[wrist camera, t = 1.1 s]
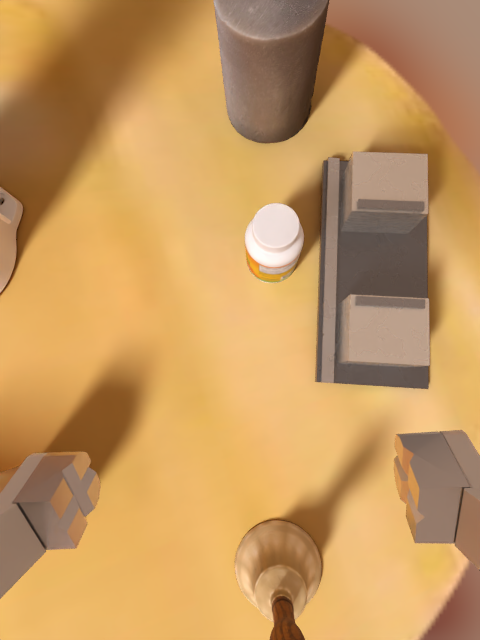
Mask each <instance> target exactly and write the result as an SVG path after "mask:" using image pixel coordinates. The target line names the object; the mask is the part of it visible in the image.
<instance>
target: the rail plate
mask: <svg viewBox="0 0 480 640" xmlns="http://www.w3.org/2000/svg"><path fill="white" fill-rule="evenodd" d="M427 215H428V154H412V153H380V152H353V153H352V155H351V158H350V160H349V161H340V158H328V160H327V161H323V166H322V196H321V226H320V256H319V286H318V316H317V346H316V376H315V382H326V383H342V384H358V385H373V386H389V387H405V388H421V389H428V366H430V344H429V298H428V288H427Z"/></svg>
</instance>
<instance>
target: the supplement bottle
mask: <svg viewBox="0 0 480 640" xmlns="http://www.w3.org/2000/svg"><path fill="white" fill-rule="evenodd" d="M303 242H304V233H303V229H302V226H301V224H300V222H299V218H298V216H297V214H296V213H295V211H294V210H293V209H292V208H290V207H289V206H287V205H285V204H281V203H271V204H268V205H266V206H264V207H262V208H261V209H260V210H259V211H258V212H257V213H256V215H255V217H254V218H253V219H252V220H251V222H250V223H249V225H248V227H247V229H246V233H245V247H246V258H247V265H248V268H249V270H250V272H251V273H252V274H253V275H254V276H255V277H256V278H257V279H259V280H260V281H263V282H266V283H278V282H281V281H283V280H285V279H287V278H288V277H289V276H290V275H291V274H292V273H293V271H294V269H295V267H296V265H297V262H298V259H299V256H300V253H301V250H302V247H303Z"/></svg>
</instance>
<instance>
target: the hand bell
mask: <svg viewBox="0 0 480 640" xmlns="http://www.w3.org/2000/svg"><path fill="white" fill-rule="evenodd" d="M321 573H322V565H321V558H320V554H319V551H318V549H317V547H316V545H315V543H314V541H313V540H312V538H311V537H310V536H309V535H308V534H307V533H306V532H305V531H304V530H303V529H302V528H300V527H299V526H297V525H295V524H293V523H290V522H287V521H282V520H270V521H266V522H263V523H260V524H259V525H257V526H255V527H254V528H252V529H251V530H250V531H249V532H248V533H247V534H246V535H245V536H244V538H243V539H242V541H241V543H240V545H239V547H238V549H237V553H236V558H235V574H236V579H237V582H238V585H239V587H240V589H241V591H242V593H243V594H244V596H245V597H246V598H247V599H248V600H249V601H250V602H251V603H252V604H253V605H254V606H256V607H257V608H258V609H259V611H260V612H261V613H262V614H263V616H265V617H266V618H267V619H268V620H270V621H272V622H274V628H273V630H272V632H271V636H270V640H305V638H304V636H303V634H302V632H301V630H300V629H299V627H298V626H297V625H296V624H295V619H297V618H298V617H299V616H300V615H301V614H302V612H303V610H304V608H305V606H306V604H307V603H308V602H309V601H310V600H311V599H312V598H313V596H314V595H315V593H316V591H317V589H318V586H319V584H320V580H321Z"/></svg>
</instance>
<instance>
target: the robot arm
mask: <svg viewBox="0 0 480 640" xmlns="http://www.w3.org/2000/svg"><path fill="white" fill-rule="evenodd" d="M3 201H4V203H3V204H2V205H1V203H2V202H3ZM22 213H23V206H22V204H21V202H20V201H18V200H17V199H16V198H15V197H13V196H12V195H11V194H9V193H8V192H7V191H6V190H4V189H3V188H2V187H0V293H1V291H2V290H3V289H4V287H5V286H6V284H7V282H8V280H9V278H10V276H11V274H12V271H13V268H14V265H15V260H16V251H17V247H16V231H17V228H18V225H19V222H20V220H21V217H22ZM395 449H396V452H397V455H398V456H397V457H396V458H395V459H394V474H395V481H396V486H397V490H398V493H399V496H400V499H401V500H402V501H403V502H404V503H406V504H407V505H406V518H407V521H408V524H409V527H410V530H411V533H412V536H413V539H414V542H415V543H455V546H456V547H457V548H458V549H459V550H460V551H461V552H462V553H463V554H464V555H465V556H466V557H467V558H468V559H469V560H470V561H471V562H472V563H473V564H474V565H475V566H476V567H477V569H478V570H479V571H480V456H479V454H478V452H477V451H476V449H475V447H474V446H473V444H472V442H471V441H470V439H469V437H468V436H467V434H466V433H465V432H464V431H462V430H455V431H440V432H424V433H409V434H396V437H395ZM90 463H91V459H90V458H89V456H88V454H87V452H82V451H81V452H49V453H32V454H31V455H29V456H27V457H26V459H25V460H24V462H23V463H22V464H21V466H20V467H19V468H18V470H17V471H16V473H15V474H14V475H13V477H12V478H11V479H10V481H9V482H8V484H7V485H6V486H5V488H4V489H3V490H2V492H1V493H0V599H1V598H2V596H3V595H4V594H5V593H6V592H7V591H8V590H9V589H10V588H11V587H12V586H13V585H14V584H15V583H16V582H17V581H18V580H19V579H20V578H21V577H22V576H23V575H24V574H25V573H26V572H27V571H28V570H29V569H30V568H31V567H32V566H33V565H34V563H35V562H36V561H37V560H38V559H39V558H40V557H41V556H42V555H43V554H44V553H45V552H46V550H52V549H73V548H77V546H78V544H79V541H80V539H81V537H82V535H83V533H84V531H85V528H86V526H87V520H86V516H87V515H88V514H89V513H90V512H91V511H92V510H93V509H95V506H96V504H97V502H98V499H99V494H100V488H101V487H100V480H99V477H98V475H97V473H96V472H95V471H94V470H92V469H91V468H89V465H90Z"/></svg>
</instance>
